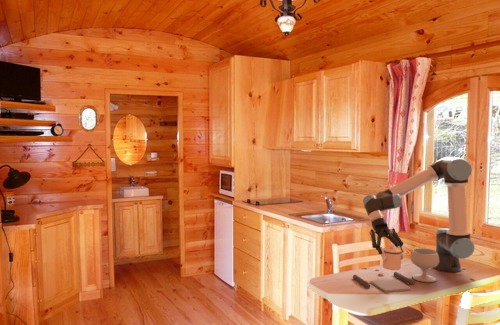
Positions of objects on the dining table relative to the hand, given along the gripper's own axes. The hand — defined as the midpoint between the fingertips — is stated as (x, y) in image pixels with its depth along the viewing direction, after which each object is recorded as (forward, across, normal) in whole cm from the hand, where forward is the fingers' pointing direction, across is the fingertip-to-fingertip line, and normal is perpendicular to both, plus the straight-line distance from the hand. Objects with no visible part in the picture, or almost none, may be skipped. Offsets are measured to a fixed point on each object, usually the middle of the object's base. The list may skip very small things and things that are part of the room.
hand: (393, 259), depth 205 cm
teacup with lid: (+1, 0, -6) cm, 6 cm away
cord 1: (+3, +12, -18) cm, 22 cm away
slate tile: (+8, 0, -13) cm, 15 cm away
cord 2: (+3, -12, -18) cm, 22 cm away
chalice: (+4, -24, -17) cm, 30 cm away
